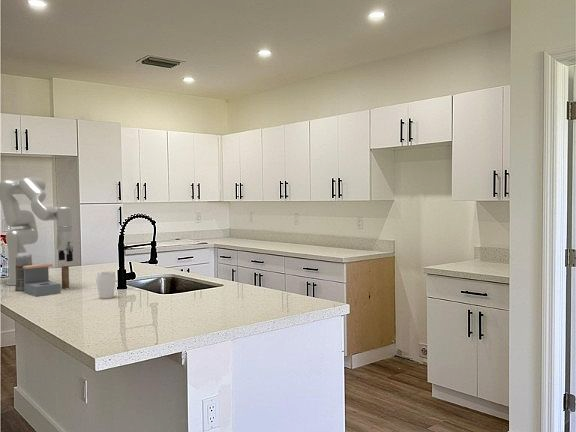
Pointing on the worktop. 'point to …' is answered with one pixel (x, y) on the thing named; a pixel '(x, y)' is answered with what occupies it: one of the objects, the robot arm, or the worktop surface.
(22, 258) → the spray can
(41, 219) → the robot arm
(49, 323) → the worktop surface
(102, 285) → the cup
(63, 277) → the peg
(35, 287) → the socket block
